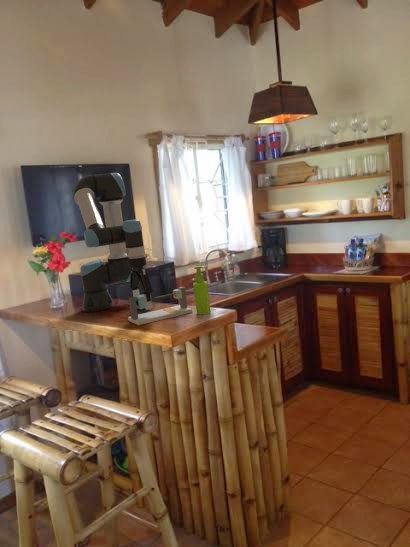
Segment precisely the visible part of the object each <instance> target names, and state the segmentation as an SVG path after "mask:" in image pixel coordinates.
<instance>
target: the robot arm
mask: <svg viewBox="0 0 410 547" xmlns="http://www.w3.org/2000/svg"><path fill="white" fill-rule="evenodd" d="M126 194H127V193H126V186H125V183H124V179H123V177H122V176H121V174H120V173H118V172H108V173H106V172H105V173H99V174H98V173H97V174H88V175H86V176H85V175H84V176H82V177H81V178H80V179H79V180H78V181H77V182H76V184H75V186H74V187H73V194H72V195H73V199H74V202H75V204H76V205H78V208H79V212H80V214H81V217H82V220H83V223H84V226H85V229H86V230H84V232H83V237H84V242H85V246H86V248H98V247H103V246H108V250H109V254H108V256H107V258H106V259H107V261H105V260H104V259H98V260H97V259H96V260H92V261H89V262H87V263H83V264H82V265H81V266H80V277H81V283H82V289H83V301H82V311H83V312H87V313H88V312H89V313H91V312H99V311H100V310H101V311H105V310H108V309H109V310H110V309H111V308H113V307H115V305H114V304H115V303H114V300H113V298H112V296H111V294H110V293H109V288H108V286H110V285H111V286H112V285H116V284H117V285H118V284H122V283H125V284H126V283H128V282H129V287H130V289H131V290H132V295H133V296H132V297H134V296H138V295H141V293H140V286H141V288H142V291H143V292H144V293H143V292H142V294H143V295H144V299H145V307H146V310H148V309H149V310H151V309H153V308H154V307H153V301H152V300H151V297H152V294H151V293H153V288H152V285H151V281H150V278H149V275H148V270H147V269H146V268H144V267H145V266H146V265H147V259H146V250H145V244H144V238H143V237H144V235H143V230H142V224H141V220H140V219H130V220H129V219H128V220H124V219H123V213H122V211H123V210H122V205H121V204H122V202H123V200H124V197H125V196H126ZM95 200H98V203H99V204H100V205H101V206H102V208H103V216H104V222H105V225H104V222H103V219H102V216H101V214H100V211H99V208H98V206H97V203H96V201H95ZM139 285H140V286H139Z"/></svg>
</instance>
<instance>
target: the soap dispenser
mask: <svg viewBox="0 0 410 547" xmlns="http://www.w3.org/2000/svg"><path fill="white" fill-rule="evenodd" d="M207 268H208V266H206V265H205V266H204V265H198V266H195V267H194V269H195V270H196V274H195V275H194V276H195V282H193V284H192V286H193V293H194V300H195V302H194V303H195V310H196V315H198V314H205V315H208V314H207V313H209V314H211V313H212V311H211V304H210V302H211V301H210V297H209V296H210V295H209V288H208V281H205V278H204V274H203V273H202V272H201V271H202V270H201V269H207ZM194 269H193V270H194ZM210 312H211V313H210Z"/></svg>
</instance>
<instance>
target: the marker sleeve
mask: <svg viewBox="0 0 410 547" xmlns="http://www.w3.org/2000/svg"><path fill="white" fill-rule="evenodd" d="M134 298H135V299H136V301H138V304H136V306H137V308H138V309H144V308H146V307H145V299H144V295H143V293H142V294H140V295H138V296H134Z"/></svg>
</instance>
